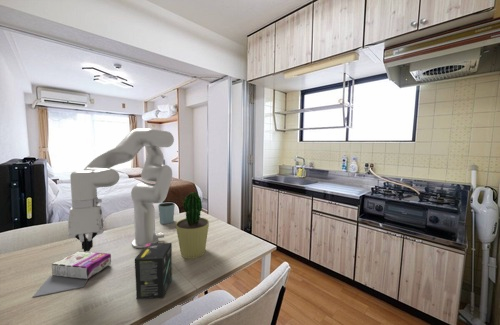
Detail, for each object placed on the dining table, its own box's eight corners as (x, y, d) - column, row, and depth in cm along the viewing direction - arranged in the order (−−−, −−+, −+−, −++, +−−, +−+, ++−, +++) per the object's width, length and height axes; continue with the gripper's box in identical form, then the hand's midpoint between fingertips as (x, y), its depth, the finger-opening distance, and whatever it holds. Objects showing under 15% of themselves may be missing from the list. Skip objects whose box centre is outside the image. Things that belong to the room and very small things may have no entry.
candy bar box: (111, 264, 89) (79, 261, 92) (111, 253, 89) (79, 250, 92) (86, 280, 78) (51, 275, 81) (86, 267, 78) (50, 263, 81)
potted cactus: (195, 241, 112) (194, 186, 109) (215, 250, 103) (215, 190, 100) (169, 253, 99) (168, 191, 97) (190, 264, 90) (189, 197, 88)
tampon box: (148, 279, 81) (147, 242, 79) (172, 278, 81) (172, 242, 80) (135, 300, 70) (133, 258, 68) (163, 298, 70) (162, 257, 69)
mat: (93, 268, 86) (93, 268, 86) (83, 287, 75) (83, 286, 75) (50, 276, 81) (50, 275, 81) (32, 297, 70) (32, 296, 70)
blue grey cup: (155, 223, 136) (155, 205, 135) (164, 218, 146) (163, 201, 145) (169, 225, 134) (169, 206, 133) (177, 219, 144) (177, 202, 143)
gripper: (110, 199, 85) (112, 242, 86) (64, 202, 79) (67, 249, 81) (106, 204, 78) (108, 251, 79) (54, 208, 72) (58, 258, 74)
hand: (87, 249), depth 80 cm, fingers closed
